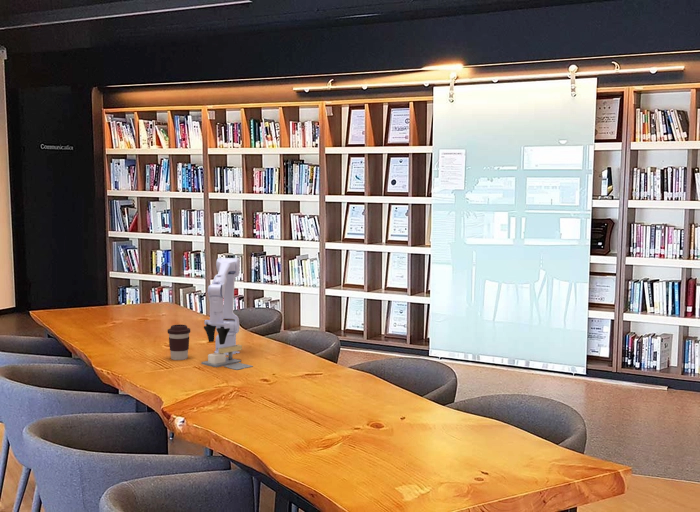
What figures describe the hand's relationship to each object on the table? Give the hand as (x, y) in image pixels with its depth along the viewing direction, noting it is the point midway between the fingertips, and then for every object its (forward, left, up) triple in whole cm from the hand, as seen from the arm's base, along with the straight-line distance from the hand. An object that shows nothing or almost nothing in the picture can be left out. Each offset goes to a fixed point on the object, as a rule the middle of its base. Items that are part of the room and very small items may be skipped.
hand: (216, 343), depth 331 cm
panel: (0, +3, -9) cm, 10 cm away
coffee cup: (-21, -4, -10) cm, 24 cm away
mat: (+10, +4, -9) cm, 14 cm away
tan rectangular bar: (0, +8, -5) cm, 9 cm away
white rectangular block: (0, 0, -8) cm, 8 cm away
